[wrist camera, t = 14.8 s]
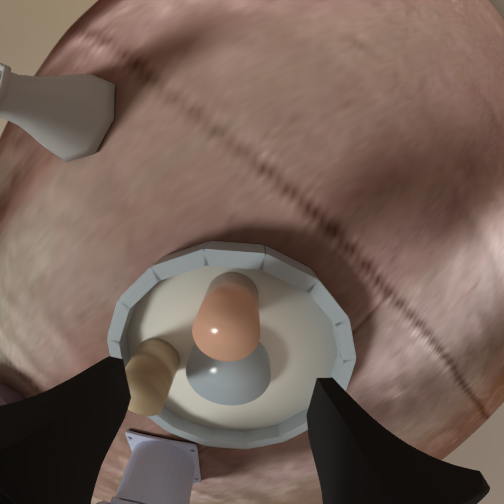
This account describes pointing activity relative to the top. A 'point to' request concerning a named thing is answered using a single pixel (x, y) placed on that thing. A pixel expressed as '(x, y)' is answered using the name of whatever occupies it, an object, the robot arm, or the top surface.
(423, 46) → the top surface
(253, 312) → the peach rounded cylinder
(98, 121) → the flask
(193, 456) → the robot arm
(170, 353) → the tan rounded cylinder
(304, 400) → the groove tray
